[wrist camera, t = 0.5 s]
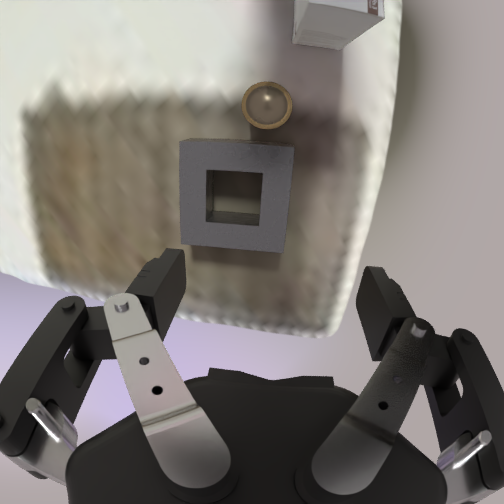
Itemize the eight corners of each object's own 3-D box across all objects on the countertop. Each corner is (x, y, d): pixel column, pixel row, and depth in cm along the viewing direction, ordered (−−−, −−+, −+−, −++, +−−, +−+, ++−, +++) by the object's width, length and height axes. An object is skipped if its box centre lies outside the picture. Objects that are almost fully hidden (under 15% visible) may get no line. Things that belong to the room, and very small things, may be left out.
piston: (250, 89, 29) (242, 79, 22) (289, 91, 29) (294, 83, 21) (248, 125, 31) (239, 127, 24) (286, 128, 31) (290, 131, 23)
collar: (190, 138, 32) (179, 141, 29) (292, 144, 32) (294, 147, 28) (190, 231, 37) (181, 243, 34) (282, 239, 37) (283, 253, 33)
